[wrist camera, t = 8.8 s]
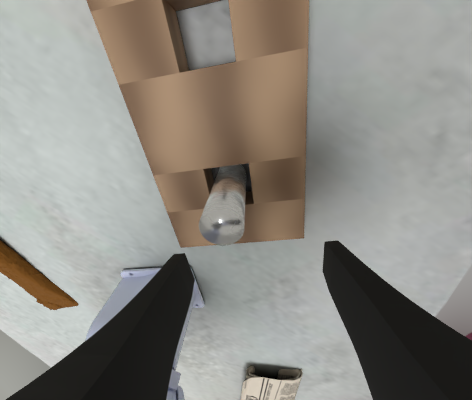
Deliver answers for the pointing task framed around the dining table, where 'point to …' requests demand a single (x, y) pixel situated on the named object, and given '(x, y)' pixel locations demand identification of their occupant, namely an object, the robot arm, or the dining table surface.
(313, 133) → the dining table surface
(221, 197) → the steel peg
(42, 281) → the primitive tool
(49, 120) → the dining table surface
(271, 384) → the newspaper
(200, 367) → the dining table surface
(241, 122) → the tool stand
